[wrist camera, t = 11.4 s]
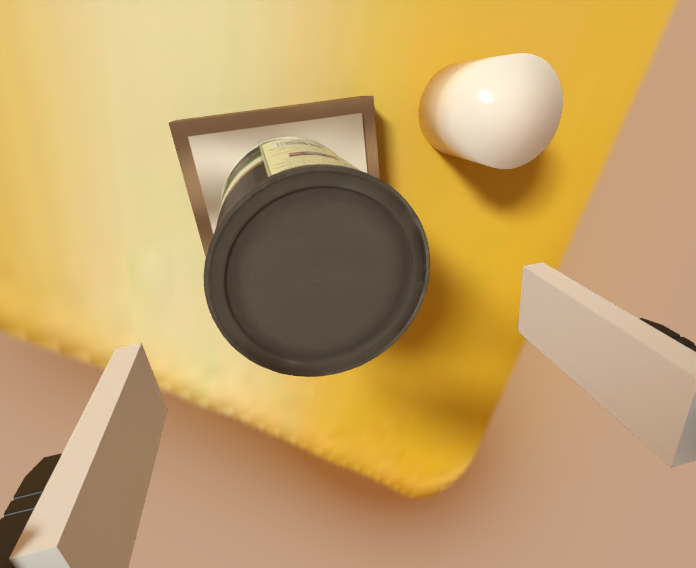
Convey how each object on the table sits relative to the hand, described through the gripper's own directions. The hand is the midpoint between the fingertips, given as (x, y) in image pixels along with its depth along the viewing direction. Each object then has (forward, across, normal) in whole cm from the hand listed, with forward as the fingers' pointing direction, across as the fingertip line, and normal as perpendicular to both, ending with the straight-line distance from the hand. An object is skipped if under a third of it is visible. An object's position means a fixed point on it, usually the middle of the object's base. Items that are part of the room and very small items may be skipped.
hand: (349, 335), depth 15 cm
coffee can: (+19, 0, 0) cm, 19 cm away
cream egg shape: (+22, +15, +4) cm, 27 cm away
